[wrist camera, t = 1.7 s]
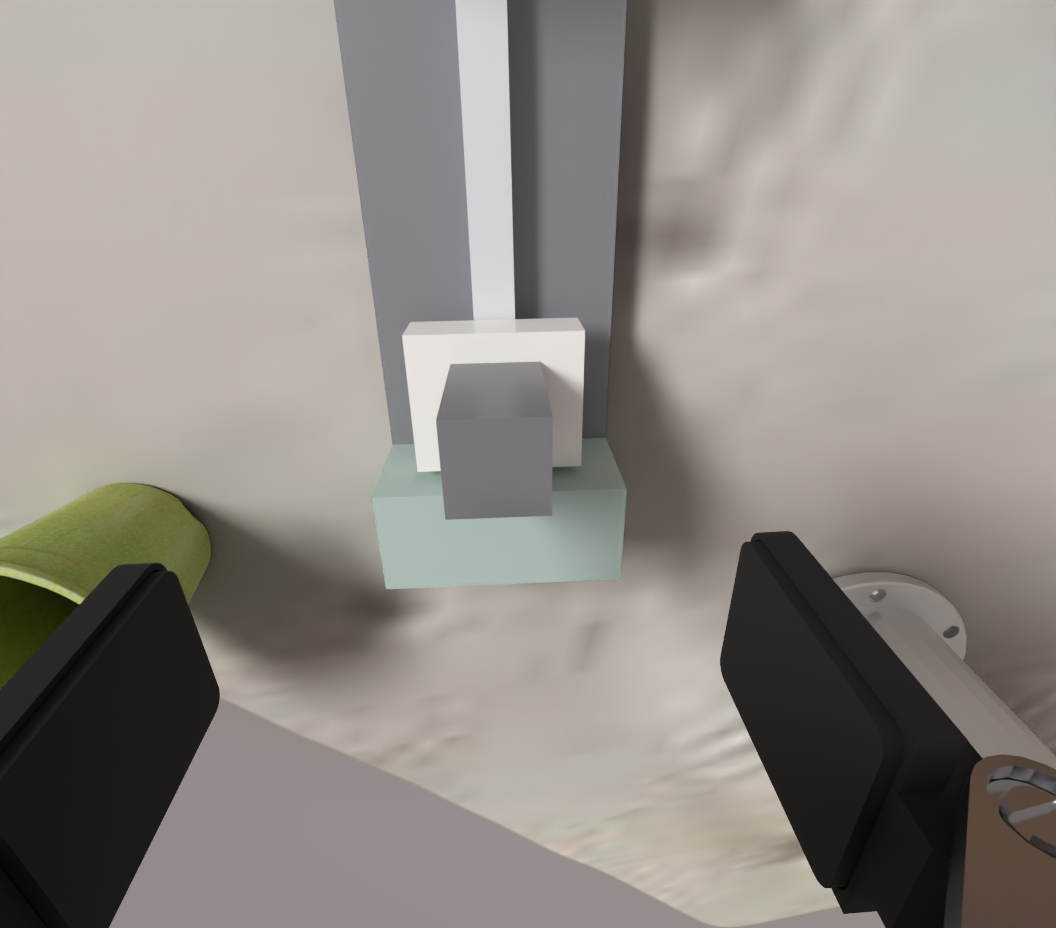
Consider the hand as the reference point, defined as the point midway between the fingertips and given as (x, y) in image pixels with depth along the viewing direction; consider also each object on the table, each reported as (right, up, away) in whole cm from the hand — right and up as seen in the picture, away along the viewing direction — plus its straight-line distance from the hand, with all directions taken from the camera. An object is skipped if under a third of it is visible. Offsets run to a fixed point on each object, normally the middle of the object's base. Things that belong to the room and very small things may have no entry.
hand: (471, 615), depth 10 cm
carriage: (0, +6, +12) cm, 13 cm away
